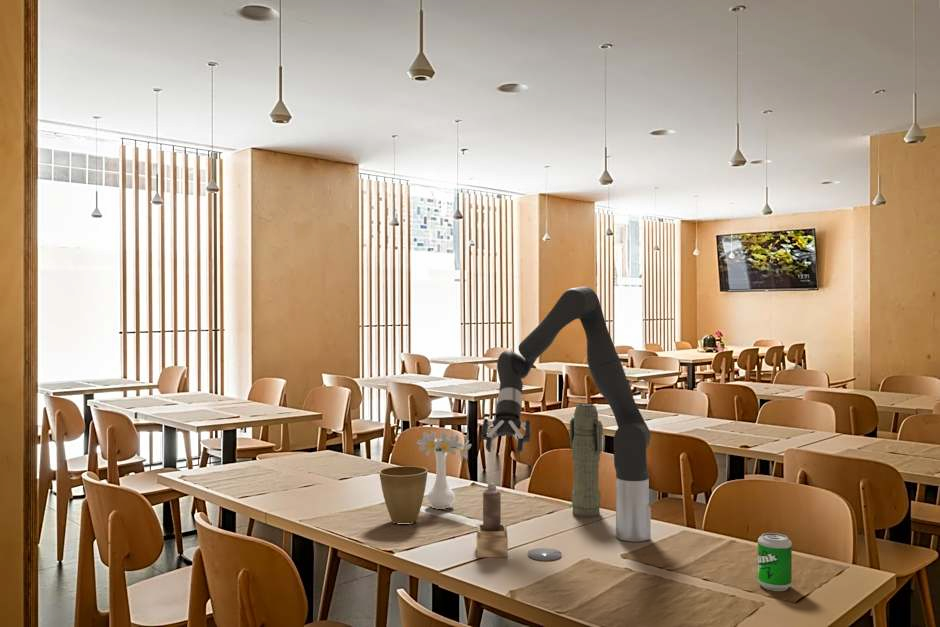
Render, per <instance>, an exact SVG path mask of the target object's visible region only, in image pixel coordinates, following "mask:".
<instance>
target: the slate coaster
mask: <svg viewBox="0 0 940 627" xmlns="http://www.w3.org/2000/svg"><path fill="white" fill-rule="evenodd" d="M562 555H563V554H562V552H561V551H560V550H558V549H555V548H550V547H549V548H548V547H537V548H533V549H529V550H528V552H527V556H528V558H530V559H531V560H535V561H540V560H542V562H550V561H551V562H552V560H553V561H557V560H559V559H561V558H562V557H563V556H562Z"/></svg>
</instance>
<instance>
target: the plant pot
mask: <svg viewBox="0 0 940 627" xmlns="http://www.w3.org/2000/svg"><path fill="white" fill-rule="evenodd" d="M378 473H379V479H380V486H381V490H382V495H383V498H384V502H385V505H386V509H387V512H388V514H389V517H390V519H391V520H390V521H391V522H392V521H393V522H395V523H412V522H415V521H416V522H417V521H418V518H419V515H420V512H421V508H422V505H423V502H424V496H425V491H426V488H427V487H426V486H427V478H428V469H427V468H426V467H421V466H414V465H402V466H400V465H399V466H398V465H397V466H391V467H386V468H382V469H380V470H379V471H378ZM393 522H392V523H393ZM416 522H415V523H416Z"/></svg>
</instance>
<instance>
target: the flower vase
mask: <svg viewBox="0 0 940 627" xmlns="http://www.w3.org/2000/svg"><path fill="white" fill-rule="evenodd" d="M469 442H470V440H469V439H468V440H467V441H466V442H465V443H464V444H462V443H460V442H459V435H458V434H454V432H451V436H448V437H447V434H446V432H445V431H444V430H442V431H441V432H440V438H437V432H436V431H434V432H432V433H431V434H429V432H428V431H424V432H423V433H422V438H421V439H418V440H417V441H416V444H417V445H420V446H419V447H418V450H419V451H425V454H424V455H425V456H426V458H427V457H429V456H430V454H431V452H432V450H433V452H434V455H435V461H436V471H435V472H436V474H435V475H436V476H435V481H434V484H433V487H432V488H431V489H430V490H429V491H428V493H427V495H426V500H427V502H428V503H429V504H430V505H431V508H432V509H433V508H436V509H435V510H437V509H444V510H446V509H445V508H449V507H450V508H451V505H452V504H453V503H454V502H455V499H456V495H455V493H454V490H452V489H451V488H450V486H449V484H448V481H447V472H446V469H447V468H446V462H447V461H446V460H447V455H448V453H450V454H452V455H456V454H457V453H456V452H457V451H456V450H459V454H460V455H459V456H460V462H461V463H462V462H463V460H464V459H465V460H467V459H468V458H469V457H468V456H469V455H468V452H467V451H468V450H470V449H471V447H472V443H469ZM450 508H449V509H450Z"/></svg>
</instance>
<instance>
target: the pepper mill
mask: <svg viewBox="0 0 940 627" xmlns="http://www.w3.org/2000/svg"><path fill="white" fill-rule="evenodd" d="M486 486H487V487H486V488H485V489H484V492H482V524H483V531H501V524H502V521H501V518H502V517H501V516H502V515H501V514H502V513H501V512H502V511H501V509H502V508H501V504H502V502H501V501H502V500H501V499H502V498H501V491H500V490H499V489H500V488H497V485H496V484H495V483H494V482H490V483H488V484H487V485H486Z"/></svg>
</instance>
